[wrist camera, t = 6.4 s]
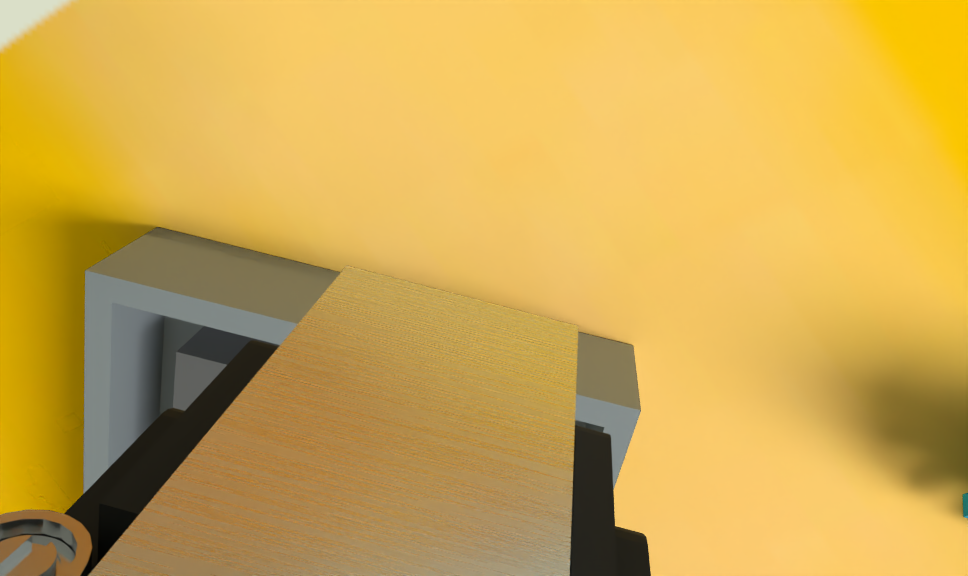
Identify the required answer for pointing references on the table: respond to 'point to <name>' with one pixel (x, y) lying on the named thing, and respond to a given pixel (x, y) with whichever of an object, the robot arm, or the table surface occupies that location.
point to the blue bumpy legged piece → (965, 505)
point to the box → (243, 338)
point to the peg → (380, 449)
